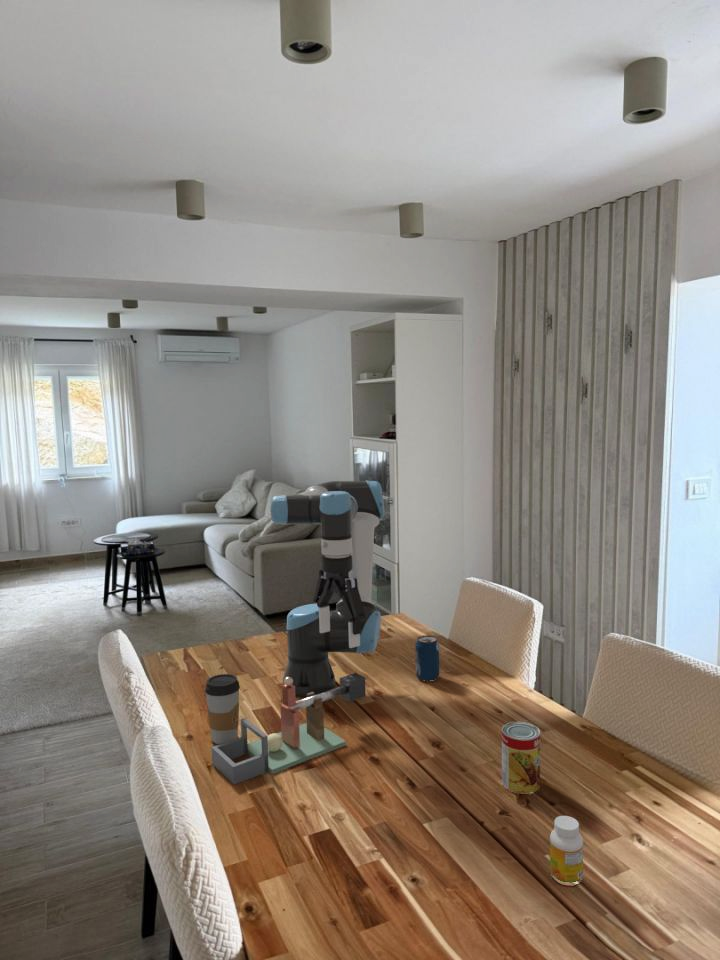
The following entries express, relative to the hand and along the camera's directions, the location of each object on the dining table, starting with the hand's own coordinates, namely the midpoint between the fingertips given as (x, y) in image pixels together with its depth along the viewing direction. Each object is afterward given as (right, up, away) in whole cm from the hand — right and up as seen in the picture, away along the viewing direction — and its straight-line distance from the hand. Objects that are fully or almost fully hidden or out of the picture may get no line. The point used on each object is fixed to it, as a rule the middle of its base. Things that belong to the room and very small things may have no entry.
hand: (339, 639), depth 166 cm
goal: (-21, -25, -15) cm, 36 cm away
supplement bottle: (+40, -28, -53) cm, 72 cm away
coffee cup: (-28, -24, -2) cm, 37 cm away
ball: (-15, -22, -10) cm, 28 cm away
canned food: (+39, -25, -25) cm, 53 cm away
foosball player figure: (-6, -24, -3) cm, 25 cm away
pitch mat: (-10, -24, -7) cm, 27 cm away
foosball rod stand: (-3, -22, -2) cm, 22 cm away
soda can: (+25, -19, +32) cm, 45 cm away
